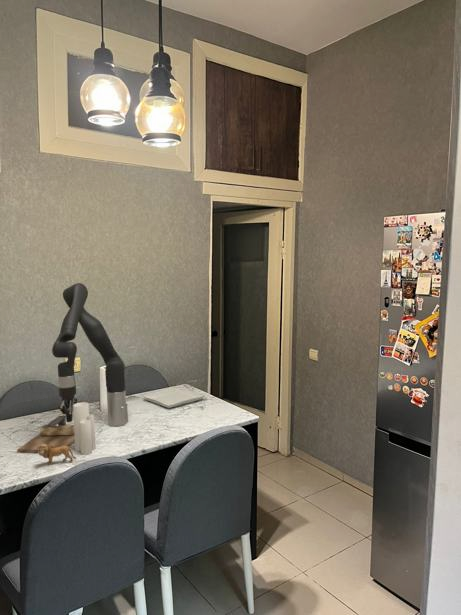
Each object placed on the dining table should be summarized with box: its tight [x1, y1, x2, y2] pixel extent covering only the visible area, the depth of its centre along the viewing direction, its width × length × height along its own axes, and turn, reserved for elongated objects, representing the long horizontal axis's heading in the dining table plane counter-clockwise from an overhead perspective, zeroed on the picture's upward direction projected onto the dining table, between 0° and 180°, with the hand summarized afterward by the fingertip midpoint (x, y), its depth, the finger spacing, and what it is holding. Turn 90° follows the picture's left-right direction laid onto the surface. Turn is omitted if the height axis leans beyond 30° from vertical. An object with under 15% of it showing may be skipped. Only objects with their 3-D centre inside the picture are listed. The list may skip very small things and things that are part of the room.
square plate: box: [142, 387, 206, 409], centre depth 274 cm, size 27×27×4 cm
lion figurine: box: [37, 444, 77, 466], centre depth 189 cm, size 15×5×9 cm, turn 117°
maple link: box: [40, 423, 74, 436], centre depth 217 cm, size 16×4×4 cm, turn 93°
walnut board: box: [17, 415, 75, 454], centre depth 213 cm, size 20×28×8 cm
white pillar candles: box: [72, 401, 96, 456], centre depth 202 cm, size 11×7×20 cm, turn 46°
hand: (69, 421), depth 213 cm, fingers closed
